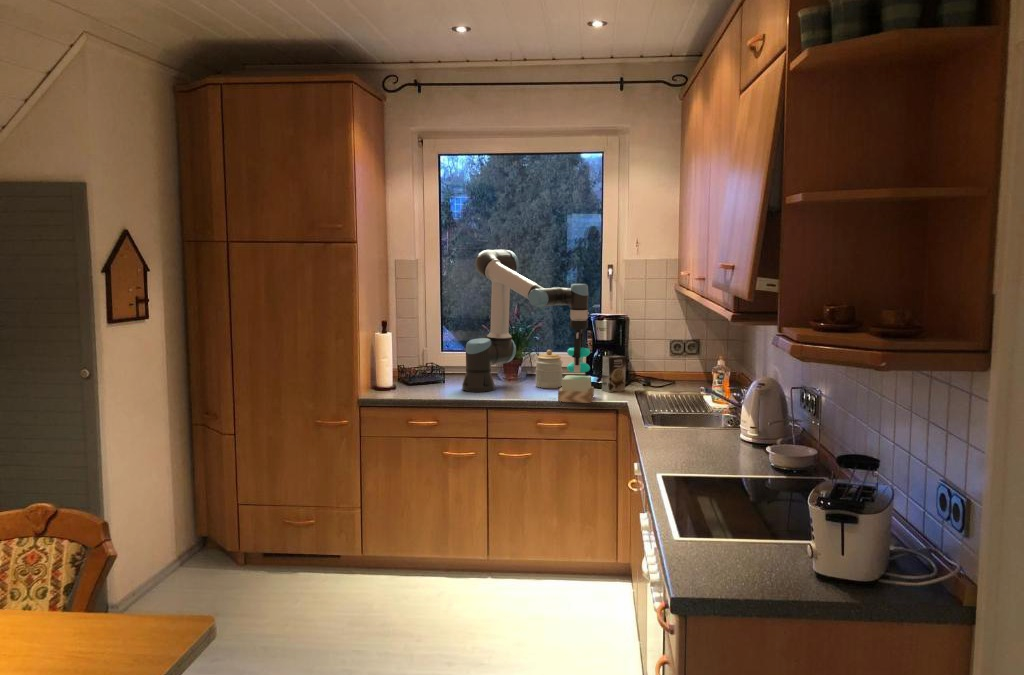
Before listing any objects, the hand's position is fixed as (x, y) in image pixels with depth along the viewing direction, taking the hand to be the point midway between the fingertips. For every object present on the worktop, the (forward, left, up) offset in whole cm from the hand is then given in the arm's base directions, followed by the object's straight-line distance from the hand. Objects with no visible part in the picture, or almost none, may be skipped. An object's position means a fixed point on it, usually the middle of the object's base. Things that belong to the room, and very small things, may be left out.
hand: (578, 370), depth 336 cm
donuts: (0, 0, 0) cm, 0 cm away
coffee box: (+14, +24, -13) cm, 31 cm away
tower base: (-1, 0, -13) cm, 13 cm away
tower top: (-1, 0, -8) cm, 8 cm away
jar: (-17, +29, -13) cm, 36 cm away
